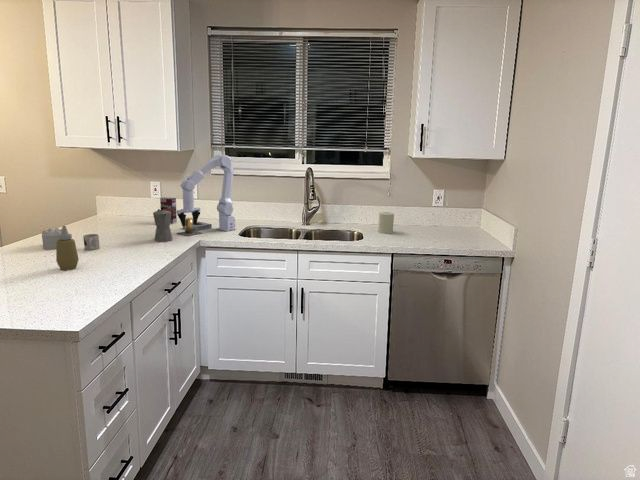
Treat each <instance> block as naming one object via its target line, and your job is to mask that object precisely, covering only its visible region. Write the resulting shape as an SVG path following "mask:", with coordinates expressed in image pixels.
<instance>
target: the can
mask: <svg viewBox="0 0 640 480" xmlns="http://www.w3.org/2000/svg"><path fill="white" fill-rule="evenodd" d="M394 220H395V213H394V212H390V211H389V212H388V211H382V212H378V227H377V228H378V230H377V232H378V233H379V234H387V235H388V234H393V233H394V222H395V221H394Z"/></svg>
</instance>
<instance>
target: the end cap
mask: <svg viewBox="0 0 640 480" xmlns="http://www.w3.org/2000/svg"><path fill="white" fill-rule="evenodd" d="M184 231H185V233H188V234H189V233H193V217H191V218H190V217H187V218H186V219H185V229H184Z"/></svg>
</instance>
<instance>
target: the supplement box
mask: <svg viewBox="0 0 640 480" xmlns="http://www.w3.org/2000/svg"><path fill="white" fill-rule="evenodd" d="M159 201H160V207H164V208H163V210H165V211H170V212H171V221H170V225H171V224H173V225H174V224H177V222H178V219H177V218H178V217H177V216H178V215H177V198H175V197H164V196H163V197H160V198H159Z"/></svg>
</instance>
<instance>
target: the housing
mask: <svg viewBox="0 0 640 480" xmlns="http://www.w3.org/2000/svg"><path fill="white" fill-rule="evenodd" d="M212 225H213V224H211V223H208V222H203V221H197V224H193V231H197V232H200V231H203V230H208V229H212V228H213V227H212ZM182 229H183V230H185V226H182Z"/></svg>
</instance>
